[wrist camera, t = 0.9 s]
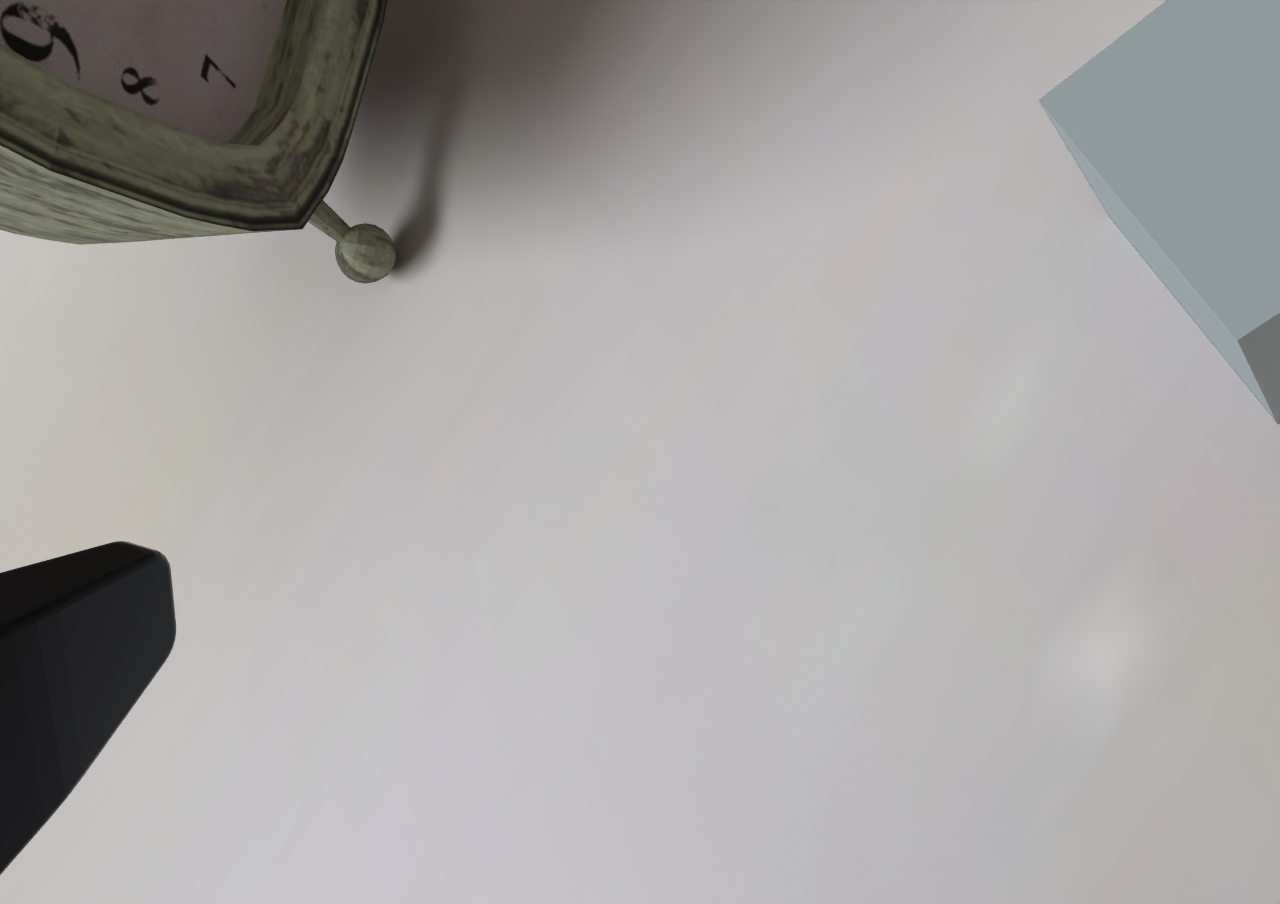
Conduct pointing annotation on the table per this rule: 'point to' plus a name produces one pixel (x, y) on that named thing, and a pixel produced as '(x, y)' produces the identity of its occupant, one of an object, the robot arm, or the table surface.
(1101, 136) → the slate grey cube
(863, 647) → the table surface
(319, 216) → the tabletop clock
